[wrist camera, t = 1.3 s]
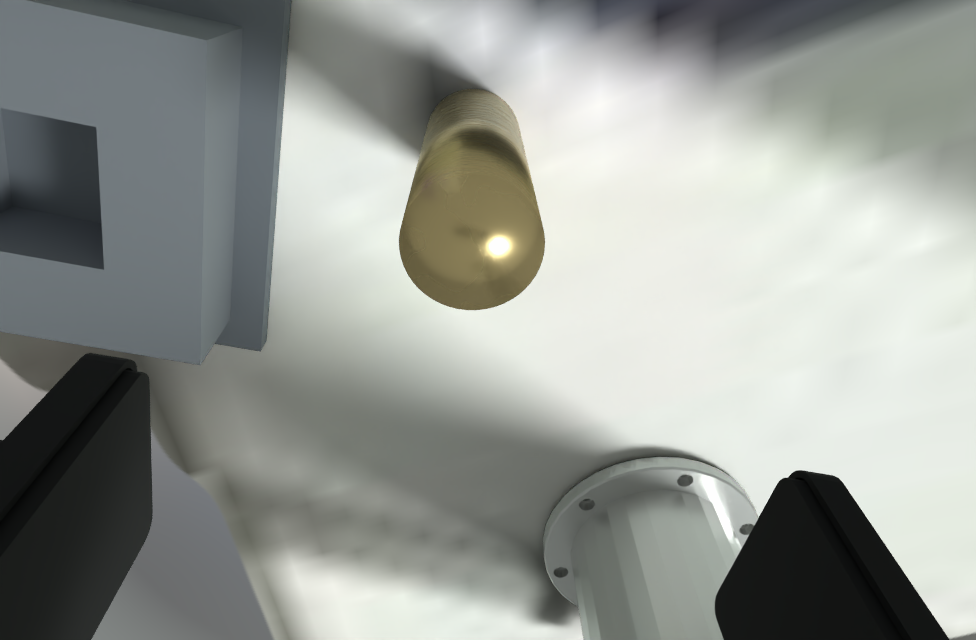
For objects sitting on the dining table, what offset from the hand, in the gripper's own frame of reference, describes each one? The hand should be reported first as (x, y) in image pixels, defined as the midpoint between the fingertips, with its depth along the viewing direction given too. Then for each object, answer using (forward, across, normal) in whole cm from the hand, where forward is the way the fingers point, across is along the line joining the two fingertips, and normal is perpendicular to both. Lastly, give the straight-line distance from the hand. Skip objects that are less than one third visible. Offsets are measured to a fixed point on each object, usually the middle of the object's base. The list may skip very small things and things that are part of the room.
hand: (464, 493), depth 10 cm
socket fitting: (+22, +16, +4) cm, 27 cm away
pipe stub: (+22, 0, 0) cm, 22 cm away
